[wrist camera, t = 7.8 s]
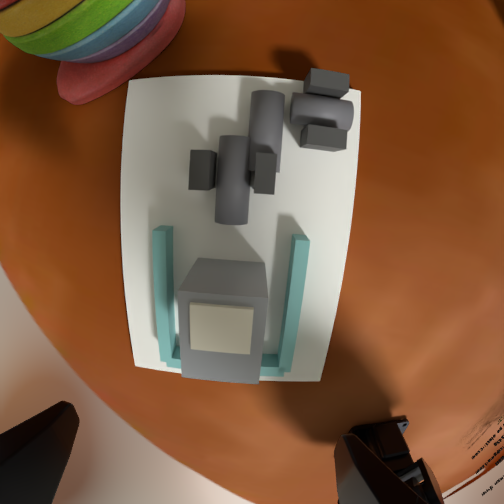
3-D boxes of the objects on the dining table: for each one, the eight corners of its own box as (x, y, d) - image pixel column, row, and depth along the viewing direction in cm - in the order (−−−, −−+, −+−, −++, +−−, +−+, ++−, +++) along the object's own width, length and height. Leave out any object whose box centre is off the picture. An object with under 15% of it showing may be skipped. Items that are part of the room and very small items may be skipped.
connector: (258, 334, 19) (258, 387, 14) (197, 329, 19) (180, 379, 14) (265, 262, 17) (268, 300, 12) (197, 257, 17) (176, 292, 12)
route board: (317, 374, 21) (325, 402, 18) (138, 359, 21) (124, 385, 17) (356, 94, 15) (375, 80, 12) (134, 83, 15) (112, 69, 12)
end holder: (287, 363, 19) (289, 376, 18) (166, 353, 19) (160, 365, 18) (305, 235, 17) (310, 240, 15) (160, 225, 17) (152, 230, 15)
